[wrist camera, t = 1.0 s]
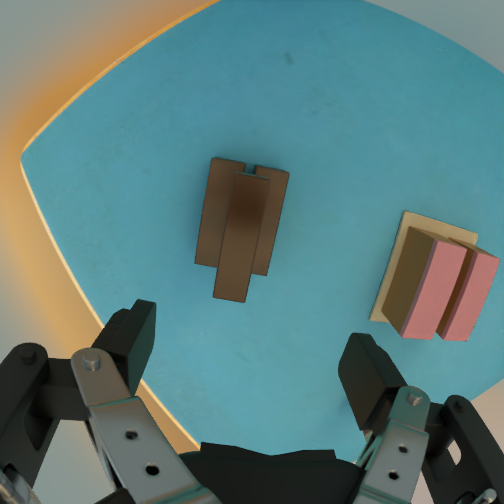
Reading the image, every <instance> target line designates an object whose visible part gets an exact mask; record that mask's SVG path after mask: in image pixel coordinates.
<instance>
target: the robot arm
mask: <svg viewBox="0 0 504 504" xmlns="http://www.w3.org/2000/svg"><path fill="white" fill-rule="evenodd" d="M155 323H156V303H155V302H150V301H146V300H141V299H137V300H136V302H135V304H134V305H133V307H132V308H131V310H129V309H124V308H123V309H121V310H119V311H117V312H116V313H114V314H113V315H112V317H111V318H110V320H109V322H107V324H106V325H105V328H103V330H102V331H101V333H100V334H99V336H98V337H97V339H96V340H95V342H94V343H93V344H92V346H91V347H90V348H84V349H81V350H78V351H77V352H75V353H74V354H73V356H72V357H71V359H56V358H48V354H47V351H46V349H45V348H44V347H43V346H41V345H39V344H36V343H23V344H20V345H17V346H16V347H14V348H13V349H12V350H11V352H10V353H9V354H8V355H7V357H6V358H5V359H4V360H3V362H2V363H1V364H0V504H41V502H40V500H39V499H38V497H37V496H36V494H35V493H34V492H33V490H32V488H33V486H34V483H35V480H36V478H37V475H38V472H39V470H40V467H41V465H42V462H43V460H44V457H45V455H46V452H47V450H48V447H49V445H50V443H51V440H52V438H53V436H54V433H55V431H56V429H57V427H58V424H59V422H60V420H61V419H63V420H77V421H83V422H84V424H85V426H86V429H87V432H88V434H89V437H90V439H91V441H92V444H93V446H94V448H95V450H96V453H97V455H98V457H99V459H100V462H101V464H102V466H103V469H104V471H105V474H106V476H107V478H108V480H109V483H110V484H111V486H112V488H113V490H114V492H113V493H112V494H110V495H108V496H107V497H105V498H103V499H101V500H100V501H98V502H96V503H94V504H411V499H412V497H413V493H414V490H415V487H416V484H417V481H418V478H419V474H420V471H422V473H423V476H424V478H425V481H426V484H427V486H428V489H429V491H430V494H431V497H432V499H433V502H434V504H504V454H503V452H502V450H501V449H500V447H499V445H498V444H497V442H496V441H495V439H494V437H493V436H492V434H491V433H490V431H489V429H488V428H487V426H486V425H485V423H484V422H483V420H482V419H481V417H480V416H479V414H478V413H477V411H476V410H475V408H474V407H473V405H472V404H471V402H470V401H468V400H467V399H466V398H464V397H462V396H459V395H451V396H449V397H448V398H447V400H446V401H445V403H444V404H438V403H433V402H430V399H429V397H428V395H427V394H426V393H425V392H424V391H422V390H421V389H419V388H417V387H414V386H408V385H407V383H406V382H405V380H404V378H403V377H402V375H401V374H400V372H399V371H398V369H397V368H396V366H395V364H394V363H393V362H392V360H391V358H390V356H389V355H388V353H387V352H386V351H384V350H383V349H382V348H381V347H380V346H377V344H376V342H375V341H374V339H373V338H372V336H371V335H370V334H365V333H352V334H351V335H350V337H349V340H348V342H347V345H346V347H345V350H344V352H343V354H342V357H341V359H340V362H339V366H338V375H339V378H340V380H341V383H342V385H343V388H344V390H345V393H346V395H347V398H348V401H349V403H350V406H351V408H352V411H353V414H354V416H355V419H356V421H357V424H358V427H359V429H360V431H362V430H372V432H373V433H372V434H371V436H370V437H369V439H368V441H367V443H366V445H365V447H364V449H363V451H362V453H361V455H360V456H359V458H358V460H357V462H356V464H353V463H350V462H347V461H344V460H340V459H336V456H335V452H334V450H301V451H296V452H291V453H285V454H280V455H273V456H272V455H266V454H262V453H258V452H254V451H251V450H247V449H244V448H240V447H237V446H230V445H221V444H213V443H206V442H201V447H200V451H192V452H186V453H182V454H177V453H176V452H175V450H174V449H173V447H172V446H171V444H170V443H169V442H168V440H167V439H166V437H165V436H164V434H163V433H162V431H161V430H160V428H159V427H158V425H157V424H156V422H155V420H154V419H153V417H152V416H151V414H150V412H149V411H148V409H147V408H146V406H145V404H144V403H143V401H142V400H141V398H140V397H139V396H135V393H136V390H137V388H138V385H139V382H140V380H141V377H142V375H143V372H144V370H145V367H146V364H147V362H148V359H149V357H150V354H151V352H152V349H153V345H154V339H155ZM454 439H455V441H456V443H457V445H458V447H459V449H460V451H461V459H460V461H459V463H458V464H457V465H455V463H454V461H453V459H452V457H451V454H450V452H449V451H448V449H447V448H448V447H449V445H450V444H451V443H452V442H453V441H454Z"/></svg>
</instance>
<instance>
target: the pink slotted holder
mask: <svg viewBox="0 0 504 504" xmlns="http://www.w3.org/2000/svg"><path fill="white" fill-rule="evenodd" d="M477 238H478V234H477V233H474V232H471V231H468V230H465V229H462V228H459V227H456V226H453V225H450V224H447V223H444V222H441V221H437V220H434V219H431V218H428V217H425V216H421V215H418V214H415V213H411V212H408V211H405V210H404V211H403V215H402V218H401V222H400V226H399V229H398V233H397V236H396V240H395V243H394V246H393V250H392V253H391V256H390V259H389V262H388V266H387V269H386V272H385V275H384V278H383V281H382V283H381V286H380V289H379V292H378V295H377V298H376V300H375V303H374V306H373V309H372V311H371V314H370V317H369V320H370V321H378V322H388V323H391V324H392V326H393V327H394V328H395V330H396V331H397V332H398V333H399V335H400V336H401V337H402V338H413V339H430V340H431V339H432V338H433V335H434V333H435V332H436V333H437V334H438V335H439V336H440V337H441V338H442V339H443V340H451V341H467V340H468V338H469V336H470V334H471V332H472V329H473V327H474V325H475V323H476V321H477V319H478V316H479V314H480V312H481V309H482V307H483V305H484V302H485V300H486V297H487V295H488V292H489V290H490V287H491V285H492V282H493V279H494V276H495V274H496V271H497V268H498V265H499V262H500V259H499V258H497V257H496V256H494V255H492V254H490V253H488V252H486V251H484V250H482V249H480V248H478V247H476V246H475V244H476V241H477Z"/></svg>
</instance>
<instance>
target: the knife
mask: <svg viewBox="0 0 504 504" xmlns="http://www.w3.org/2000/svg"><path fill="white" fill-rule="evenodd" d="M270 182H271V180H270V179H269V178H268V177H264V176H259V175H254V174H250V173H244V172H238V171H236V172H235V174H234V179H233V185H232V190H231V195H230V200H229V206H228V211H227V217H226V222H225V227H224V233H223V239H222V244H221V250H220V256H219V261H218V267H217V273H216V279H215V285H214V291H213V298H218V299H224V300H230V301H235V302H241V303H245V300H246V296H247V291H248V286H249V282H250V277H251V272H252V268H253V263H254V258H255V253H256V249H257V244H258V239H259V235H260V230H261V225H262V220H263V216H264V211H265V206H266V201H267V197H268V192H269V187H270Z"/></svg>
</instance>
